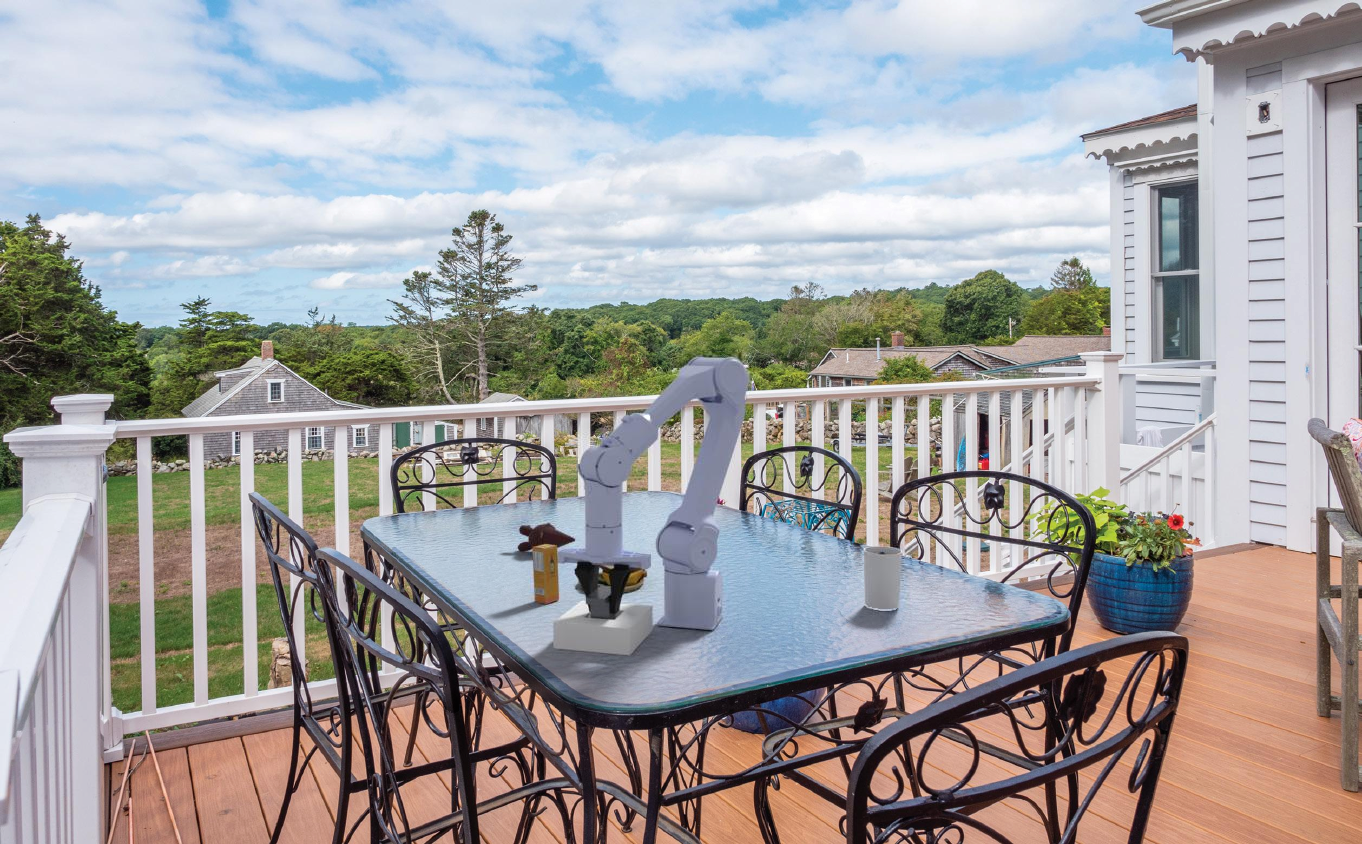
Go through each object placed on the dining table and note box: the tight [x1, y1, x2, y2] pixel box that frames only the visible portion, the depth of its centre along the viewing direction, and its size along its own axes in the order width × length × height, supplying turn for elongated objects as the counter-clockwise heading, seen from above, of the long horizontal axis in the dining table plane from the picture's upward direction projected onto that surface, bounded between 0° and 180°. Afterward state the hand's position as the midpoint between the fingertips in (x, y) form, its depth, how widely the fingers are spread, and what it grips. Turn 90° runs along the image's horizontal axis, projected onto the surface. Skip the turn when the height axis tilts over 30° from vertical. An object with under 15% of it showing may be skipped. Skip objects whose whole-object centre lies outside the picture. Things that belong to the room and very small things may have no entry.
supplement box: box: [531, 544, 560, 605], centre depth 159 cm, size 3×3×10 cm
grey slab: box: [585, 586, 615, 620], centre depth 138 cm, size 3×7×6 cm, turn 165°
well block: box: [552, 600, 654, 656], centre depth 139 cm, size 12×12×4 cm
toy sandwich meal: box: [577, 565, 648, 593], centre depth 171 cm, size 12×14×5 cm
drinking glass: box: [863, 545, 903, 609], centre depth 156 cm, size 7×7×10 cm
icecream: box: [517, 522, 576, 552], centre depth 196 cm, size 7×8×15 cm
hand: (604, 611), depth 139 cm, fingers closed on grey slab, 3 cm apart
